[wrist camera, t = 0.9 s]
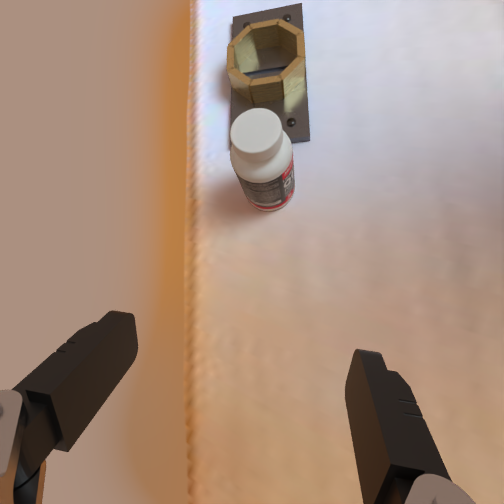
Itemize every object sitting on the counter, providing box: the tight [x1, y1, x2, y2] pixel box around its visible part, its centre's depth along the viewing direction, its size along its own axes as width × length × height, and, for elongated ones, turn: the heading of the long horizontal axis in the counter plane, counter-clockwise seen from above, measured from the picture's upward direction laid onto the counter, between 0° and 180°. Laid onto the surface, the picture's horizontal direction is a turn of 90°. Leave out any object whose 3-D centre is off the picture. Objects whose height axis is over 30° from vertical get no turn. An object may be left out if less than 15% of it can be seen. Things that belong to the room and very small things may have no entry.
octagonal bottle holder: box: [227, 3, 310, 146], centre depth 32 cm, size 19×9×3 cm, turn 0°
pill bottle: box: [230, 108, 295, 211], centre depth 25 cm, size 5×5×10 cm
